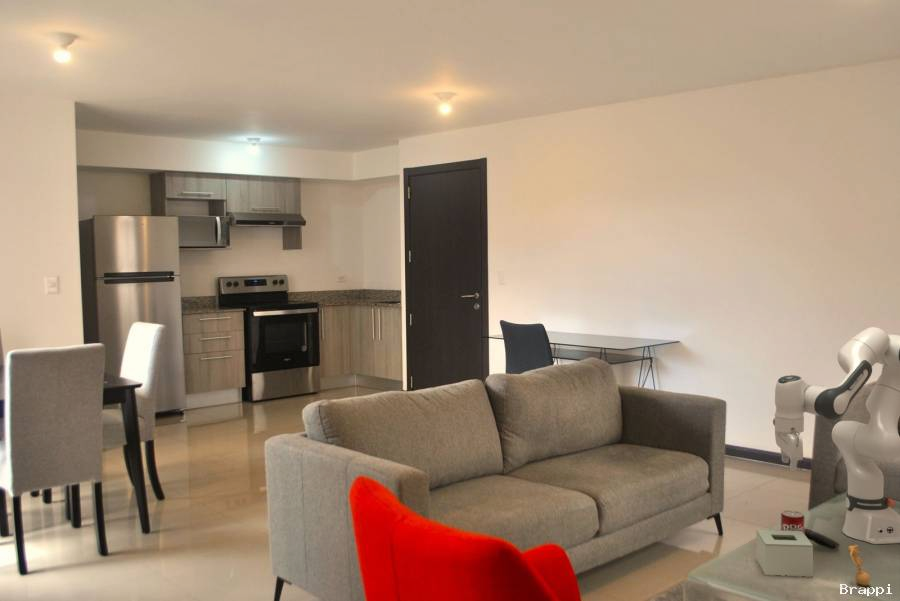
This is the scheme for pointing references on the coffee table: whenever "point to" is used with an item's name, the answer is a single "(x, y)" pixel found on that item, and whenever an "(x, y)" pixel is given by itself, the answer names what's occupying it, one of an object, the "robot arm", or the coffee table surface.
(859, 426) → the robot arm
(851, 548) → the figurine
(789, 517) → the soda can
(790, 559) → the coin box
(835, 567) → the coffee table surface
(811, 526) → the coffee table surface
